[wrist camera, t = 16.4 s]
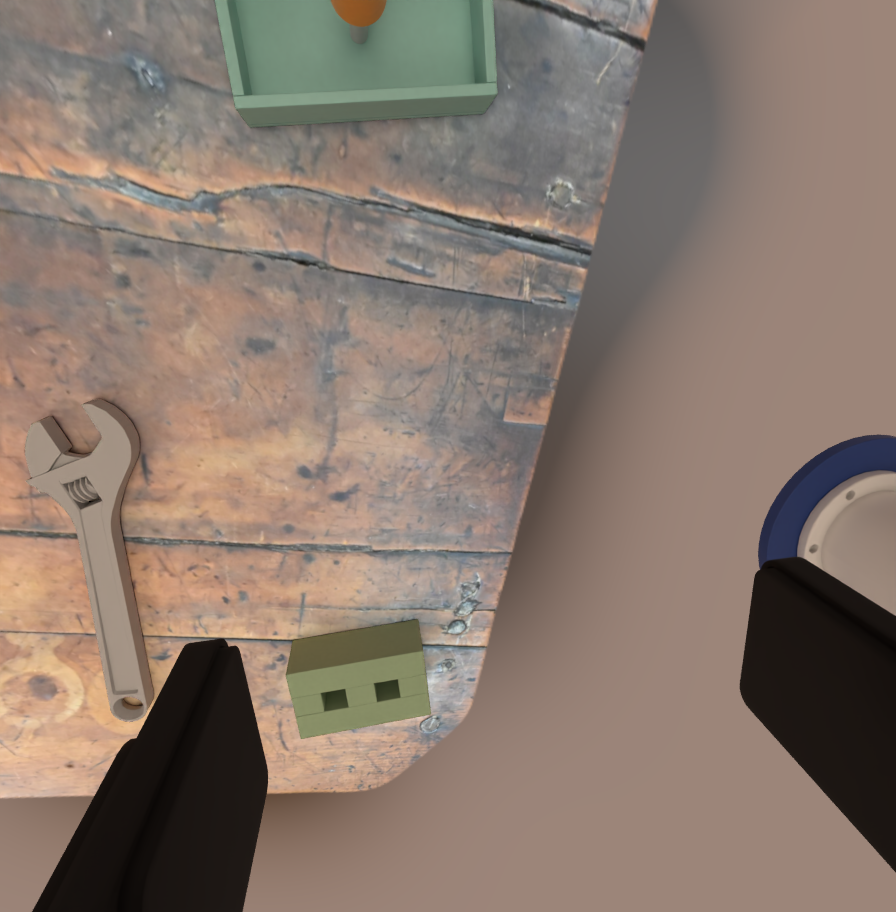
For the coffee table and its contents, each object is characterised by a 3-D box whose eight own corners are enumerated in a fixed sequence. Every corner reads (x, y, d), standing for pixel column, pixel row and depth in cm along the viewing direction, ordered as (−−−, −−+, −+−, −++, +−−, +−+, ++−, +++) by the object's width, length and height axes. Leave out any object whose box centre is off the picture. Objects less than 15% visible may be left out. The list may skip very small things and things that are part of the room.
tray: (217, -47, 28) (196, -92, 25) (474, -52, 30) (488, -95, 26) (249, 128, 31) (235, 108, 27) (484, 114, 32) (497, 94, 29)
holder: (292, 640, 42) (285, 675, 38) (418, 618, 43) (423, 650, 39) (306, 700, 44) (300, 739, 40) (425, 678, 45) (431, 714, 41)
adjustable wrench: (158, 706, 42) (149, 723, 41) (70, 707, 41) (57, 725, 39) (138, 404, 35) (127, 411, 33) (30, 396, 34) (12, 402, 32)
